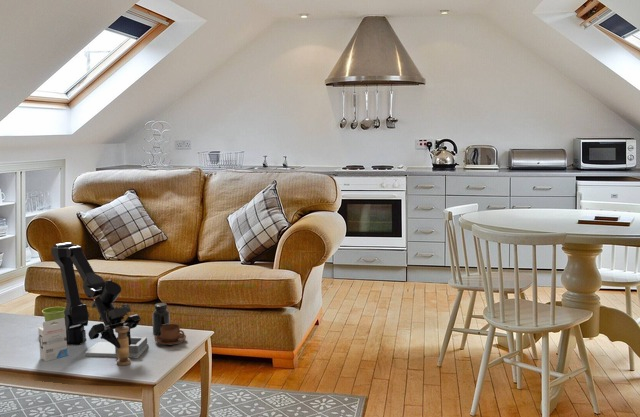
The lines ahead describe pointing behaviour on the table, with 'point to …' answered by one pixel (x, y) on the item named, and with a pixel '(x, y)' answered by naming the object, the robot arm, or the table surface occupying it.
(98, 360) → the table surface
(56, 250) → the robot arm
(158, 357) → the table surface
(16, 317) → the table surface
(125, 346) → the bobbin
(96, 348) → the board
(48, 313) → the plant pot
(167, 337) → the cup and saucer
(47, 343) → the ink box
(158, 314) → the supplement bottle
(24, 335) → the table surface
